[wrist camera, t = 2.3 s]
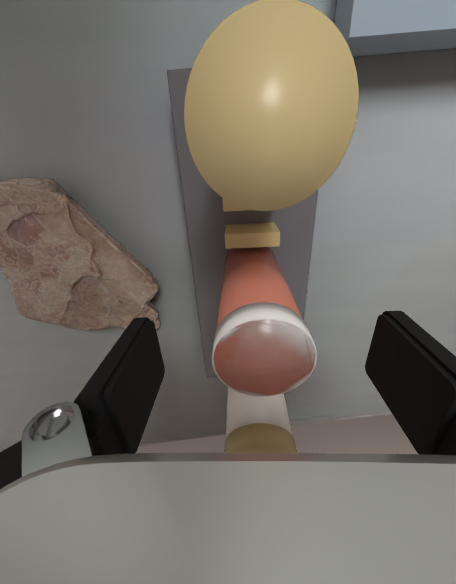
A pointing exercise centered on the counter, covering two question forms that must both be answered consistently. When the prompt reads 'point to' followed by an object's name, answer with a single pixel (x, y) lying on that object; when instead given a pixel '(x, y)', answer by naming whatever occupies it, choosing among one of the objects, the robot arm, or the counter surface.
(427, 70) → the counter surface
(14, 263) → the stone
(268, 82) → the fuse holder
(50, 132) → the counter surface
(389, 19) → the tray
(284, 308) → the cylinder
